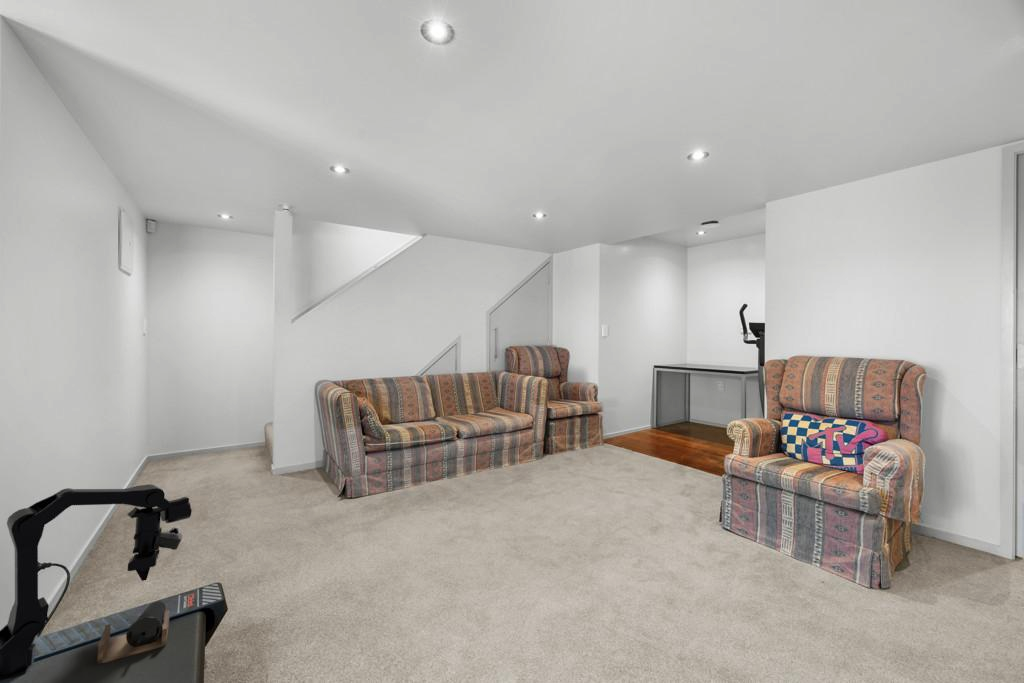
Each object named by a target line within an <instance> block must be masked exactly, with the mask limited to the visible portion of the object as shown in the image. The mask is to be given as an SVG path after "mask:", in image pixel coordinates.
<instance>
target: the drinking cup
mask: <svg viewBox="0 0 1024 683" xmlns="http://www.w3.org/2000/svg"><path fill="white" fill-rule="evenodd" d="M166 608H167V606H166V604H165V603H164V602H163V601H154V602H151V603H150V604H149V605H147V607H146V609H145V610H144V611H143V612H142V613H141V614H140V615H139V617H138V618H137V619H136V620H135V621H134V622H133V623H132V624H131V625H130V627H128V630H127V631H126V640H127V642H128V643H129V644H130V645H131V646H133V647H138V646H143V645H147V644H151V643H153V642H154V641H155V640H156V639H157V638H158V637H159V635H160V633H161V630H162V625H163V623H164V617H165V611H167V609H166Z"/></svg>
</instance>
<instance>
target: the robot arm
mask: <svg viewBox="0 0 1024 683" xmlns="http://www.w3.org/2000/svg"><path fill="white" fill-rule="evenodd" d="M94 505H95V506H100V505H101V506H102V505H103V506H104V505H128V506H133V507H134V508H133V509H132V510H130V512H128V513H127V517H129V518H131V519H135V518H136V519H135V529H134V531H135V532H134V535H133V540H134V544H133V546H134V547H133V550H132V554H134V555H133V556H132V557H131V558H129V561H128V563H127V572H134V571H135V572H136V573H137V574H138V576H139V578H140V580H141V581H142V582H143V581H146V580H148V577H149V573H150V569H151V568H153V567H156V565H157V562H158V558H159V554H160V550H159V549H160V548H162V549H170V550H172V551H174V550H175V551H176V550H177V549H178V548H179V546H180V543H181V541H182V538H183V534H182V533H181V532H179V527H172V528H171V529H170V530H167V531H162V527H161V521H162V522H164V523H165V524H171V523H175V522H180V521H182V520H183V521H184V520H187V519H190V518H191V516H192V507H191V502H190V498H189V497H188V496H183V497H180V498H177V499H172V500H168V499H167V498H165V491H164V490H163V489H162V488H160V487H158V486H156V485H154V484H150V483H149V484H142V485H135V486H132V487H129V488H79V489H78V488H69V487H68V488H67V487H66V488H64V489H61V490H59V491H58V492H56V493H53V495H50V496H48V497H46V498H44V499H41V500H40V501H36V502H35V503H33V504H32V505H30V506H29V507H25V508H20V509H18V510H16V511H14V512H13V513H11V515H9V516H8V518H7V522H6V525H7V526H6V527H7V530H8V533H9V535H10V538H11V541H12V544H13V547H14V602H13V605H12V607H11V610H10V613H9V615H8V619H7V620H8V621H7V624H5V626H4V627H2V628H1V629H0V680H3V679H7V678H8V679H9V678H11V677H16V676H19V674H20V675H23V674H25V672H26V673H27V671H28V669H29V668H30V667H31V665H33V663H34V661H35V659H36V658H35V656H36V648H37V647H36V646H37V644H36V643H34V640H35V639H36V637H37V635H39V634H40V633H41V632H42V631H43V630H44V629H45V626H46V622H49V621H50V618H49V616H48V611H49V603H48V602H47V600H46V599H45V597H43V596H42V597H41V598H39V574H38V573H39V568H38V567H39V556H38V555H39V550H38V549H39V543H40V540H41V539H42V536H43V533H44V530H45V525H47V524H49V523H50V522H52V521H53V520H55V519H56V518H57V517H59V515H61V514H62V513H63V512H64V511H65V510H67V509H68V508H70V507H72V506H94Z"/></svg>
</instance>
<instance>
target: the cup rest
mask: <svg viewBox="0 0 1024 683" xmlns="http://www.w3.org/2000/svg"><path fill="white" fill-rule="evenodd" d="M170 612H171V611H170V609H168V610H167V609H166V610H165V614H164V618H163V622H162V630H161V633H160V635H159V637H158V638H157V639H156V640H155V641H154V642H153V643H151V644H147V645H143V646H138V647H133V646H131V645H130V644H129V643H128V642H127V640H126V634H127V633H126V634H121V635H117V636H114V637H111V627H112V626H111V623H108V624H106V625H105V627H104V629H103V632H102V635H101V636H100V640H99V643H98V646H97V660H96V665H97V664H98V665H101V664H100V663H102V664H104V663H109V662H112V661H115V660H116V661H117V660H119V659H122V658H126V657H131V656H134V655H138V654H141V653H145V652H147V651H148V652H149V651H153V650H156V649H159V648H162V647H166V646H167V640H168V633H169V626H170V625H169V624H170Z"/></svg>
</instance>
